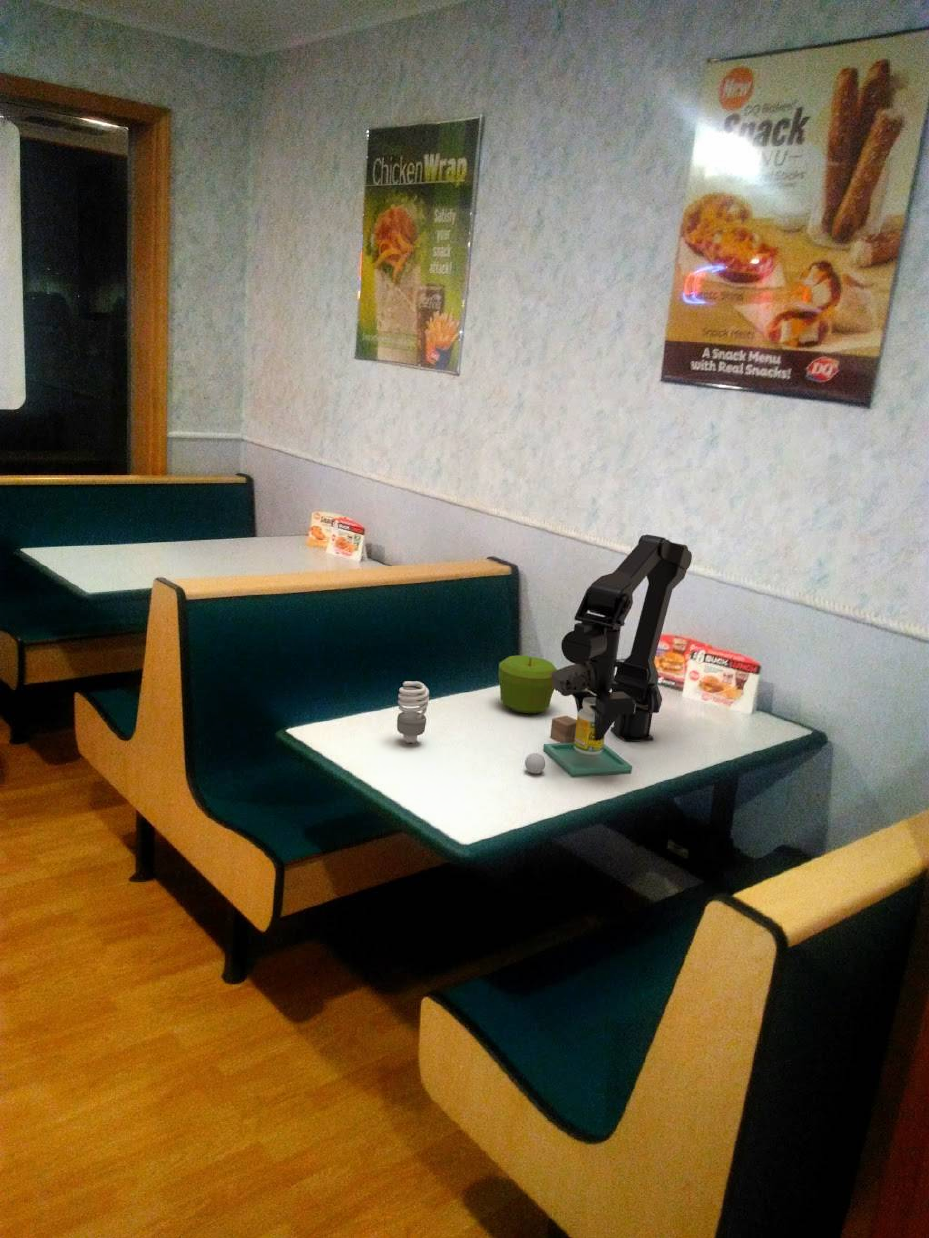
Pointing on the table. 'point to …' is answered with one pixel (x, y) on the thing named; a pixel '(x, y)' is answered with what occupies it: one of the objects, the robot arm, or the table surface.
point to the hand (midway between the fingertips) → (590, 734)
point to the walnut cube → (563, 729)
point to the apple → (526, 683)
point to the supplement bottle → (587, 730)
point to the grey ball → (535, 763)
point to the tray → (586, 761)
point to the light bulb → (412, 710)
